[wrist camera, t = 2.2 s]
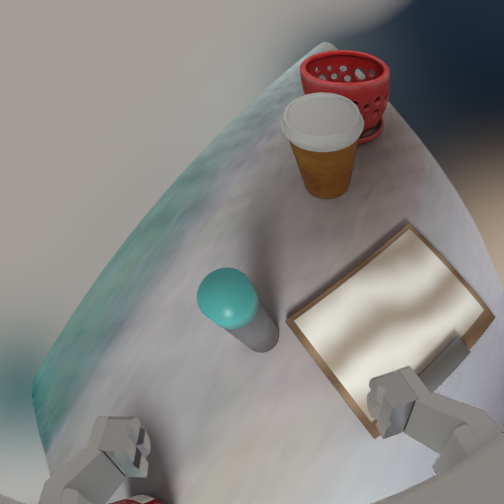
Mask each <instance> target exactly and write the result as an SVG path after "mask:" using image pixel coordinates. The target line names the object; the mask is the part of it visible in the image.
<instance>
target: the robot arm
mask: <svg viewBox="0 0 504 504" xmlns="http://www.w3.org/2000/svg"><path fill="white" fill-rule="evenodd" d="M369 387H370V389H371V390H370V392H369V393H368V394H367V407H368V410H369V413H370V415H371V417H372V418H374V419H376V420H378V421H377V425H376V427H377V428H378V430H379V432H380V434H381V436H382V438H383V439H385V438H387V437H390V436H393V435H396V434H398V433H401V432H404V433H405V434H407V435H409V436H410V437H412V438H414V439H415V440H417V441H419V442H420V443H422V444H424V445H426V446H427V447H429V448H431V449H432V450H434V451H436V452H438V453H439V454H440V455H439V457H438V458H437V460H436V461H435V463H434V465H433V469H434V471H435V473H436V474H437V475H435V476H433V477H431V478H429V479H427V480H425V481H423V482H421V483H419V484H417V485H415V486H413V487H410V488H408V489H406V490H404V491H401V492H399V493H397V494H394V495H392V496H390V497H387V498H385V499H382V500H379V501H377V502H374V503H371V504H504V432H503V433H502V432H501V431H500V430H499V428H498V427H497V426H496V425H495V423H494V422H493V421H492V419H491V418H490V417H489V416H488V414H487V413H486V412H485V411H483V410H481V409H478V408H475V407H472V406H469V405H467V404H464V403H461V402H459V401H456V400H453V399H451V398H448V397H445V396H443V395H440V394H438V393H435V392H434V393H432V394H431V393H430V391H429V390H428V389H427V387H426V386H425V385H424V383H423V382H422V381H421V379H420V378H419V377H418V376H417V374H416V373H415V372H414V370H413V369H412V368H411V367H410V366H406V367H403V368H400V369H397V370H394V371H391V372H388V373H385V374H383V375H380V376H377V377H374V378H371V380H370V381H369ZM140 425H141V422H140V421H139V419H138V418H137V417H113V416H98V417H97V418H96V420H95V423H94V426H93V429H92V432H91V435H90V439H89V442H88V445H87V448H86V449H83V450H81V451H80V452H79V453H78V454H77V455H76V456H75V457H73V458H72V459H71V460H70V461H69V462H68V463H67V464H65V465H64V466H63V467H62V468H61V469H60V470H58V471H57V472H56V473H55V474H54V475H53V476H51V477H50V478H49V479H48V480H47V481H46V482H45V484H44V487H43V490H42V493H41V497H40V500H39V504H106V502H107V501H108V500H109V499H110V498H111V496H112V495H113V494H114V492H115V491H116V490H117V489H118V487H119V486H120V485H121V484H122V482H123V481H124V480H125V479H126V477H147V471H148V464H149V463H148V461H147V460H146V457H147V456H148V455H149V454H150V448H151V446H150V439H149V436H148V434H147V432H146V430H144V429H143V428H141V427H140ZM0 504H24V503H21V502H19V501H16V500H14V499H11V498H9V497H7V496H4V495H2V494H0Z"/></svg>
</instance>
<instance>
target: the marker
mask: <svg viewBox="0 0 504 504" xmlns="http://www.w3.org/2000/svg"><path fill="white" fill-rule="evenodd" d="M197 302H198V306H199V308H200V310H201V311H202V313H203V314H204V315H205V316H207V317H208V318H209V319H210V320H212V321H213V322H214V323H215V324H217V325H218V326H220V327H222V328H224V329H225V330H227V331H228V332H229V333H230V334H232V335H233V336H234V337H236V338H237V339H238V340H240V341H241V342H242V343H244V344H245V345H246V346H248V347H249V348H250V349H252V350H253V351H255V352H267V351H269V350H271V349H272V348H273V347H274V346H275V345H276V344H277V342H278V339H279V331H278V329H277V327H276V325H275V324H274V322H273V320H272V319H271V317H270V316H269V314H268V313H267V311H266V309H265V308H264V306H263V305H262V303H261V301H260V300H259V298H258V295H257V293H256V291H255V290H254V288H253V286H252V285H251V283H250V281H249V280H248V278H247V277H246V276H245V274H243V273H242V272H241V271H239V270H237V269H234V268H221V269H217V270H215V271H213V272H211V273H210V274H209V275H207V276H206V277H205V278H204V280H203V281H202V282H201V284H200V286H199V289H198V293H197Z"/></svg>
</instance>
